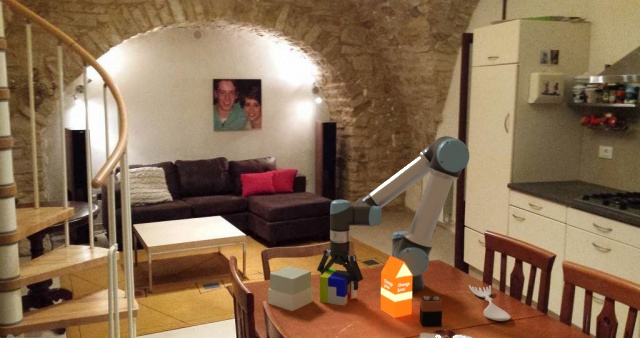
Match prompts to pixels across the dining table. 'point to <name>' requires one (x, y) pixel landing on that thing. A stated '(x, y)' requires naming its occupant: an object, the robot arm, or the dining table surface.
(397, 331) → the dining table surface
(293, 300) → the tower base
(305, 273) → the tower top
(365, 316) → the dining table surface
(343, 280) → the puzzle toy
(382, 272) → the orange juice
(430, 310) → the battery
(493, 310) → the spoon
